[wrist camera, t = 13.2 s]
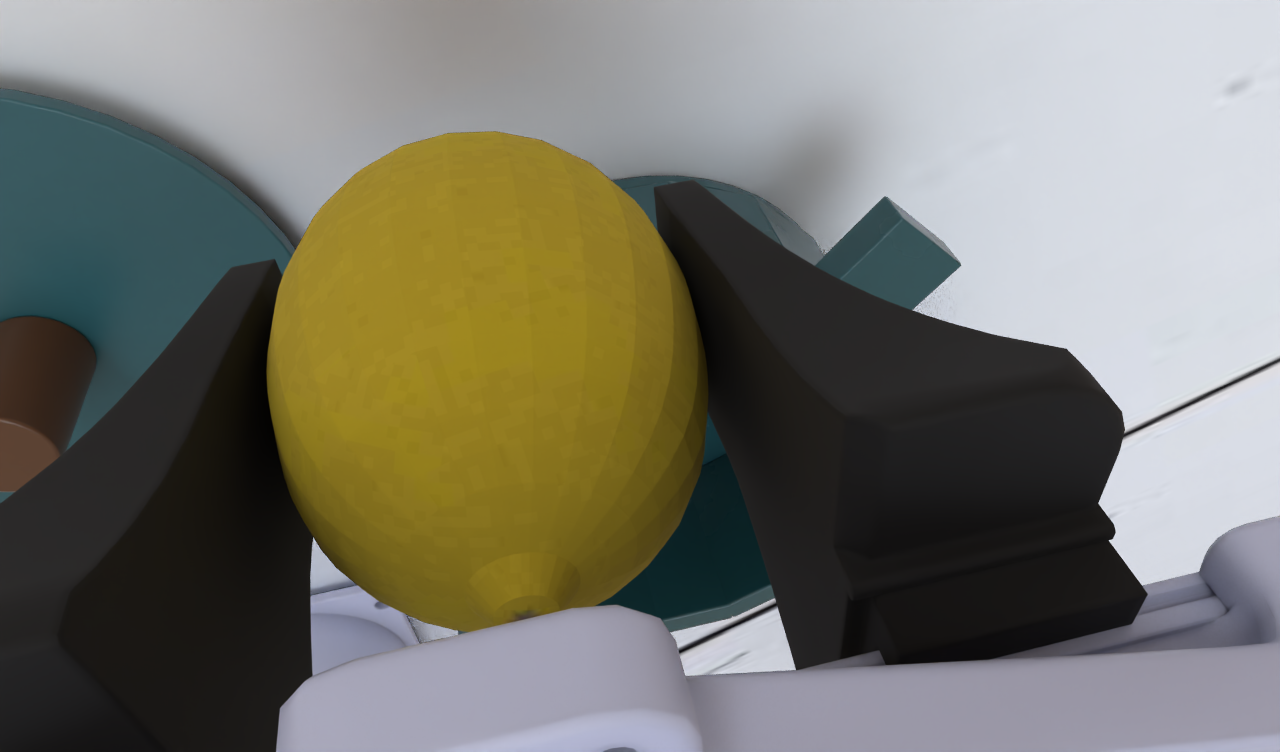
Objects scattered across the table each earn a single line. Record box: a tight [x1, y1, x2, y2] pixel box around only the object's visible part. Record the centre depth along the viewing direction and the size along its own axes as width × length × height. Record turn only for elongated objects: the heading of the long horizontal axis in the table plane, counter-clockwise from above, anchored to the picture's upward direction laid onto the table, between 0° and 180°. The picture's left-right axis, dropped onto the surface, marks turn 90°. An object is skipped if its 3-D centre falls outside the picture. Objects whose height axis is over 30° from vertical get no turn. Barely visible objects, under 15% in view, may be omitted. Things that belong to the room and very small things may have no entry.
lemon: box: [266, 131, 708, 632], centre depth 12 cm, size 6×6×8 cm
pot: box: [458, 176, 961, 635], centre depth 26 cm, size 13×18×6 cm
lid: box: [0, 88, 295, 503], centre depth 22 cm, size 14×14×5 cm
